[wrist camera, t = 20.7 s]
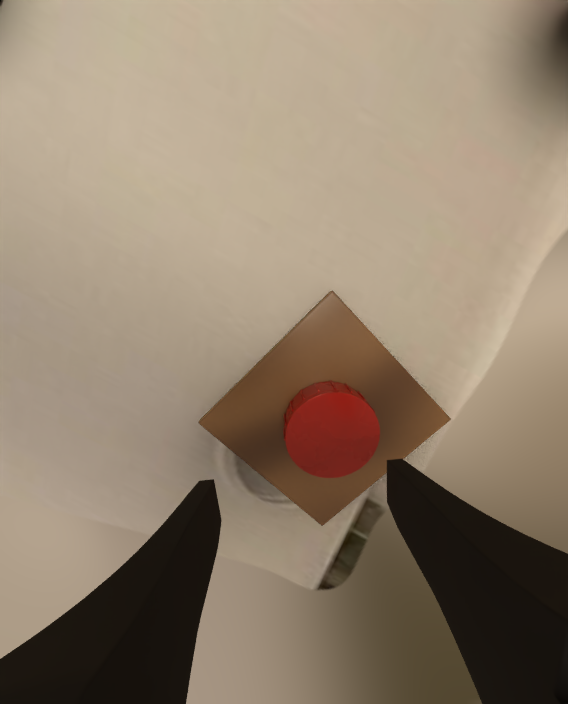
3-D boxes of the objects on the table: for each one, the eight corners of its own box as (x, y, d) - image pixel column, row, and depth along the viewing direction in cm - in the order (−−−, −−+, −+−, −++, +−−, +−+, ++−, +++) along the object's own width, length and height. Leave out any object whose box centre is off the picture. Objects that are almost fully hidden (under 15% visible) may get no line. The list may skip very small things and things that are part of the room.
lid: (388, 417, 17) (401, 432, 15) (326, 475, 18) (332, 495, 16) (326, 361, 16) (333, 371, 14) (264, 425, 17) (263, 441, 15)
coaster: (199, 420, 17) (197, 423, 16) (331, 290, 15) (332, 290, 15) (321, 521, 19) (322, 526, 19) (447, 416, 17) (451, 419, 17)
